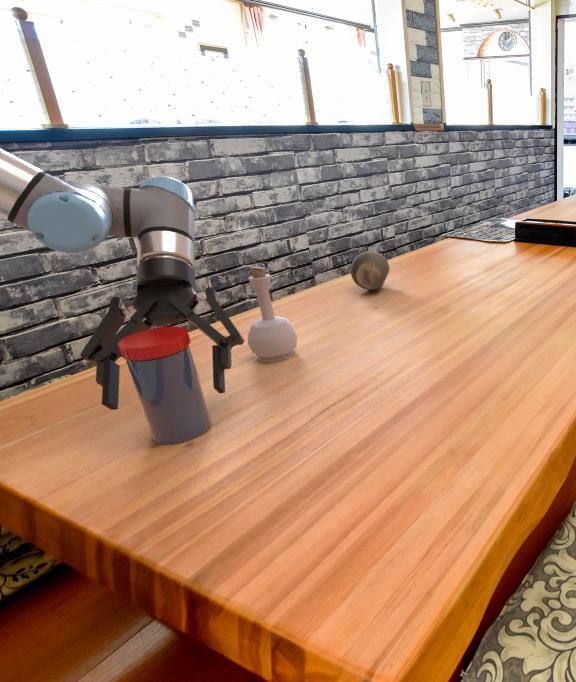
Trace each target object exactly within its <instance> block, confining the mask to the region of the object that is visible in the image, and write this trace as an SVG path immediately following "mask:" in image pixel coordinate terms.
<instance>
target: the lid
mask: <svg viewBox="0 0 576 682" xmlns="http://www.w3.org/2000/svg"><path fill="white" fill-rule="evenodd" d="M191 342H192V341H191V338H190V334H189V332H188V330H187V328H185V327H183V326H175V325H173V326H172V325H171V326H169V325H168V326H158V327H154V328H153V327H152V328H150V329H148V330H144V331H140V332H137V333H134V334H132V335H129V336H127V337H125V338H123V339H122V340H120V341H119V343H118V346H119V351H120V354H121V356H120V358H123V359H124V360H125V361H126V360H133V361H139V360H149V359H155V358H160V357H164V356H167V355H171V354H173V353H176V352H179V351H181V350H183V349H184V348H186V347H187V346H188V345H189V346H190V344H191Z"/></svg>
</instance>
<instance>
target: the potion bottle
mask: <svg viewBox="0 0 576 682" xmlns="http://www.w3.org/2000/svg"><path fill="white" fill-rule="evenodd" d="M248 268H249V271H250V273H251V276H249V277H247V278H248V281H249V284H250V286H251V287H252V288H253V289H255V292H256V297H257V301H258V306H259V309H260V310H259V311H260V314H261V319H258V320H255V321H254V322H253V323H251V326H250V328H249V331H248V333H247V346H248V347H249V348H250V350H251V353H252V354H254V355H255V356H257V357H256V358H257V360H259V361H260V362H261V363H275V362H281V361H284V360H288V359H290V358H291V357H293V356H294V355H295V354H296V352H295V349H297V348H298V347H297V346H298V345H297V344H298V336H297V332H296V330H295V328H294V326H293V324H292V323H291V321H289V319H287V317H284V316H275V313H274V309H273V304H272V299H271V295H270V290H269V288H270V284H271V274H269V273H266V268H265V267H260V266H252V265H251V266H248Z"/></svg>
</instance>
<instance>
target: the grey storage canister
mask: <svg viewBox="0 0 576 682" xmlns="http://www.w3.org/2000/svg"><path fill="white" fill-rule="evenodd" d="M125 362H126V365H127V368H128V371H129V374H130V377H131V379H132V383H133V385H134V388H135V390H136V393H137V396H138V399H139V402H140V405H141V409H142V411H143V414H144V417H145V420H146V423H147V426H148V429H149V431H150V435H151V438H152V440H153V441H154V442H155V443H156V444H159V445H176V444H180V443H181V444H182V443H185V442H188V441H191V440H193V439H196V438H198V437H200V436H202V435H203V434H205V433H206V432H207V431H208V430H209V429H211V427H212V418H211V415H210V412H209V408H208V405H207V401H206V397H205V394H204V390H203V388H202V385H201V381H200V378H199V373H198V370H197V367H196V364H195V360H194V357H193V353H192V350H191V347H190V344H189V345H188V346H187V347H186V348H184V349H183V350H181V351H179V352H176V353H173V354H171V355H167V356H164V357H160V358H155V359H149V360H139V361H133V360H126V359H125Z"/></svg>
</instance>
